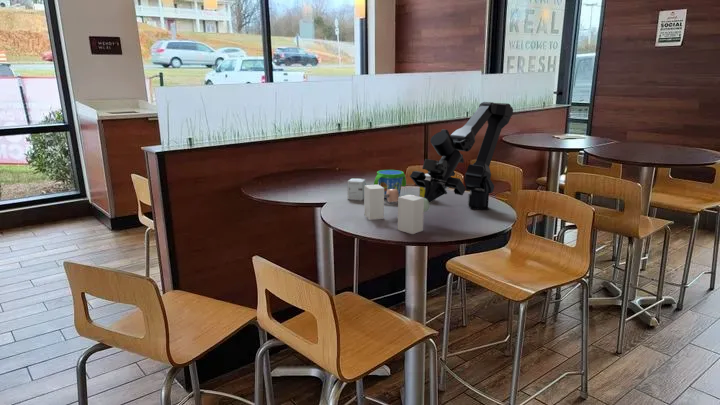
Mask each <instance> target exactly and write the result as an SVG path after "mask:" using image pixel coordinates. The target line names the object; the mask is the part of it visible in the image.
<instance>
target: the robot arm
mask: <svg viewBox="0 0 720 405" xmlns="http://www.w3.org/2000/svg"><path fill="white" fill-rule="evenodd" d="M513 114H514V109H513V107H512V105H511V104H510V103H506V102H505V103H501V102H491V101H483V102H480V103H479V105H478V108H477V109H476V111H475V112H474V113H472V115H471V117H470V118H469V119H468V121H467V122H466V123H465V124H464V125H463V126H462V127H460V128H458V129H456V130H455V131H453V132H452V133H451V134H450V131H449V130H448V129H443V128H442V129H441V131H439V132H436V133H435V134H433V135H432V136H431V138H430V144H431V145H432V147H433V148H434V150H435V151H436V153H437V154H438V156H439V157H441V158H440V159H439V160H436V159H430V158H429V159H428V158H425V159H424V162H423V164H422V170H426V171H427V174H429V175H430V176H431V177H430V176H426V175H425V174H426V173H425V172H424V171H418V170H413V171H412V172H411V174H410V175H409V177H410V179H411V180H412V181H413V183H414V184H415V186H417V187H419V188H420V187H423V188H425V195H424V198H426V199H427V200H428V201H429V204H431V202H433V201H435V200H436V199H438V198H440V197H442V196H444V195H448V192H447V191H448V190H449V189H450V188H451V189H453V193H454V194H455V195H458V196H463V195H464V194H465V192H466V191H469V193H468V195H467V205H468V207H469V209H470V210H490V207H489V200H490V199H489V198H490V197H489V195H490V194H492V193H493V192H494V190H495V185H494V182H493V181H492V180H491V177H492V173H491V169H490V165H491V163H492V159H493V156H494V152H495V151H496V147H497V144H498V142H499V141H498V140H499V138H500V134H501V132H502V129H503V128H504V127H505V126H507V125H508V124H509V123H510V120H511V118H512V116H513ZM486 123H487V127H486V130H485V133H484V136H483V139H482V143H481V145H480V148H479V151H478V154H477V157H476V160H475V161H474V163H473V164H468V165H467V170H466V172H465V173H464V183H463V182H462V180H461V179H460V178H458V177H455V175H456V173H455V170H456V168H457V167H458V166H459V163H462V164H464V162H465V159H464V155H463V154H461V152H466V153H467V152H469V151H471V149H472V148H473V146H474V144H475V143H476V136H477V134H478V133H479V132H480V130H481V129H482V128H483V127H484V125H485V124H486Z"/></svg>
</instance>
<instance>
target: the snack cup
mask: <svg viewBox="0 0 720 405" xmlns="http://www.w3.org/2000/svg"><path fill="white" fill-rule="evenodd" d="M377 184H378V185H380V186H382V187H383V188H384V194H386V193H387V190H388V189H397V190H398V194H399V197H401V196H400V195H401V189H402V187H406V186H407V177H406V174H405V173H404V171H402V170H396V169H380V170H378V171H376V176H375V179H374V181H373V185H377ZM385 199H386V200H387V198H385Z"/></svg>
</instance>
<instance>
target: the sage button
mask: <svg viewBox="0 0 720 405" xmlns="http://www.w3.org/2000/svg"><path fill="white" fill-rule="evenodd" d="M430 204H431V203H429V201H428V200H427V199H426V198H424V212H423V213H425V212H428V211H429V210H430V207H431V206H430Z"/></svg>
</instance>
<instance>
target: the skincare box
mask: <svg viewBox="0 0 720 405" xmlns="http://www.w3.org/2000/svg"><path fill="white" fill-rule="evenodd" d="M364 185H367V179H366V178H350V179H349V180H347V200H352V201H363V200H364Z"/></svg>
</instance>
